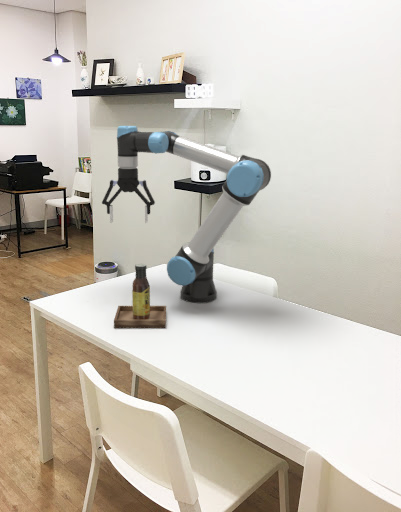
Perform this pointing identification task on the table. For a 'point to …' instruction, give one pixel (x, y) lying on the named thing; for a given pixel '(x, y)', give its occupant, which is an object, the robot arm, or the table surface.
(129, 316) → the tray
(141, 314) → the sauce bottle
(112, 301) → the table surface
